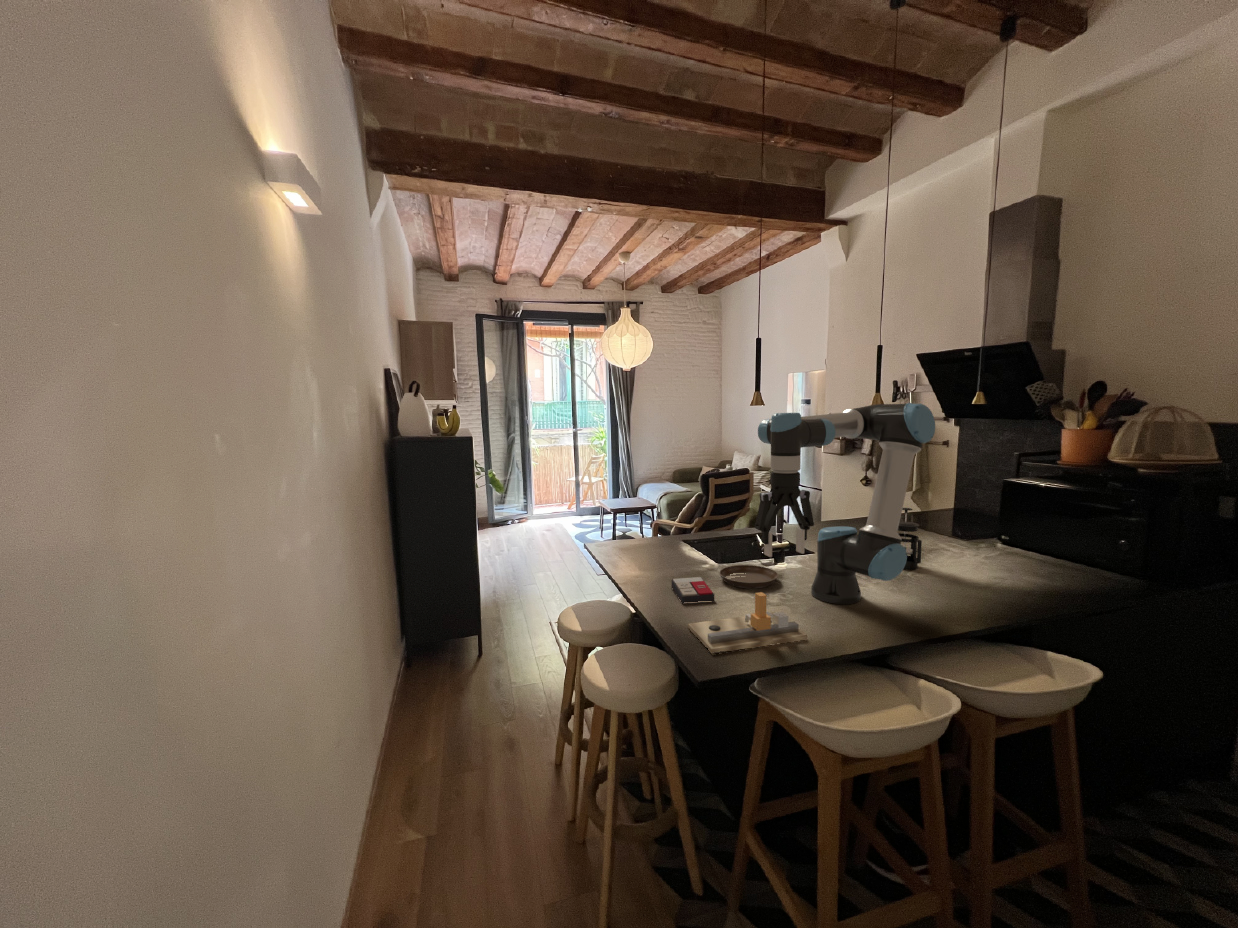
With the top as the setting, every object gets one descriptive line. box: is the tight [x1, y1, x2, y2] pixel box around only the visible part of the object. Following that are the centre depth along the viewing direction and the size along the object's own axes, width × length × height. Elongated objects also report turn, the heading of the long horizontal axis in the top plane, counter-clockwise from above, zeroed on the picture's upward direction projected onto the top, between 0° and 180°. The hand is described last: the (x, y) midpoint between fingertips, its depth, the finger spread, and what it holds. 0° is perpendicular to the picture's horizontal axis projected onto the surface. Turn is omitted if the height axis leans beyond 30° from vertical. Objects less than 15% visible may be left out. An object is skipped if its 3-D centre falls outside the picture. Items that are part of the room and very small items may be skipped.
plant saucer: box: [719, 564, 779, 589], centre depth 183 cm, size 21×21×3 cm
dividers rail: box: [708, 611, 800, 644], centre depth 138 cm, size 26×10×5 cm, turn 104°
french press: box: [898, 507, 923, 571], centre depth 193 cm, size 12×9×23 cm
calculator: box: [671, 576, 715, 603], centre depth 170 cm, size 11×4×15 cm
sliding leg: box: [744, 591, 771, 631], centre depth 138 cm, size 4×10×11 cm, turn 14°
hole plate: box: [687, 611, 808, 653], centre depth 140 cm, size 28×16×2 cm, turn 104°
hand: (784, 553), depth 135 cm, fingers open, 9 cm apart
